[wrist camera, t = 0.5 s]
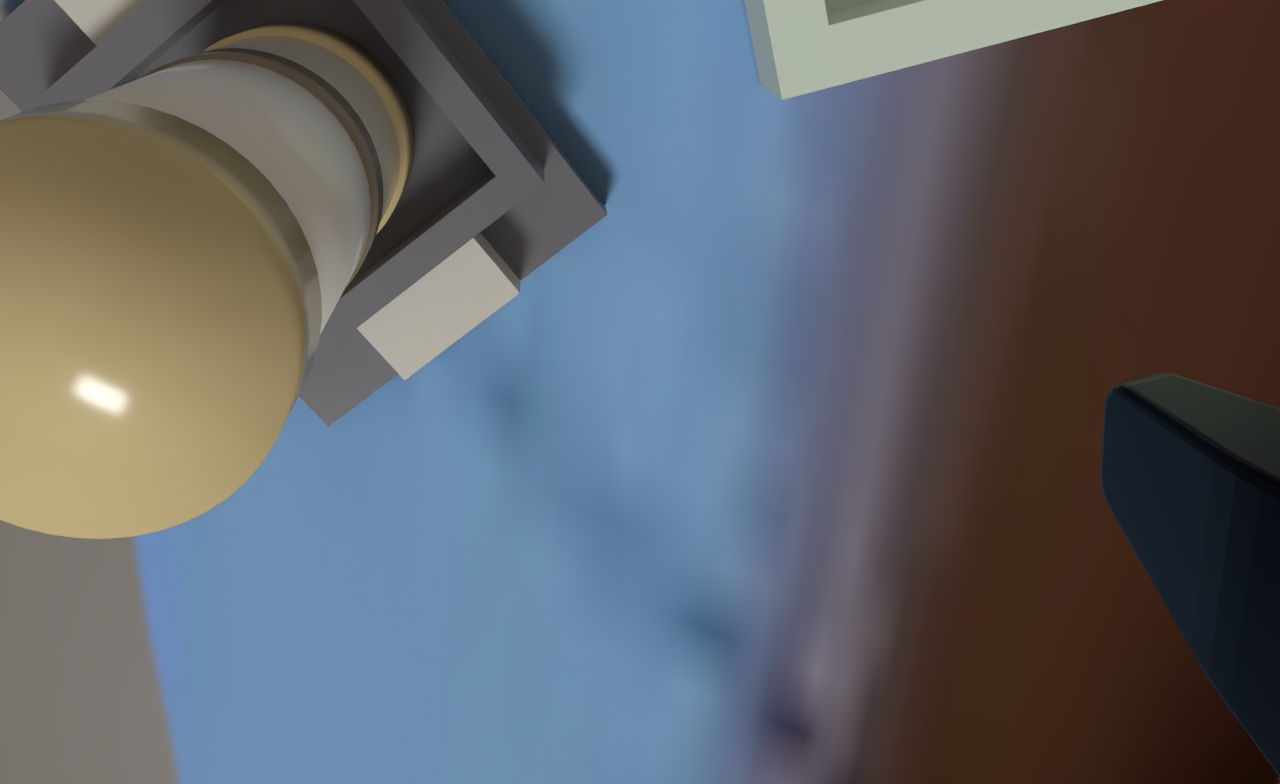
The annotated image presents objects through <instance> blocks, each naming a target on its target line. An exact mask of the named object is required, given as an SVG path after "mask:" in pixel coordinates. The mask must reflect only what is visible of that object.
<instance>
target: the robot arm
mask: <svg viewBox="0 0 1280 784" xmlns="http://www.w3.org/2000/svg"><path fill="white" fill-rule="evenodd" d="M1101 482H1102V488H1103V492H1104V495H1105V498H1106V501H1107V503H1108V505H1109V507H1110V509H1111V511H1112V513H1113V515H1114V516H1115V518H1116V520H1117V522H1118V523H1119V525H1120V527H1121V529H1122V530H1123V532H1124V534H1125V536H1126V537H1127V539H1128V541H1129V543H1130V544H1131V546H1132V548H1133V550H1134V551H1135V553H1136V555H1137V557H1138V558H1139V560H1140V562H1141V564H1142V565H1143V567H1144V569H1145V571H1146V572H1147V574H1148V576H1149V578H1150V579H1151V581H1152V583H1153V585H1154V586H1155V588H1156V590H1157V592H1158V593H1159V595H1160V597H1161V599H1162V600H1163V602H1164V604H1165V606H1166V607H1167V609H1168V611H1169V612H1170V614H1171V616H1172V618H1173V619H1174V621H1175V623H1176V625H1177V626H1178V628H1179V630H1180V632H1181V633H1182V635H1183V637H1184V639H1185V640H1186V642H1187V644H1188V646H1189V647H1190V649H1191V651H1192V652H1193V654H1194V656H1195V657H1196V659H1197V661H1198V662H1199V664H1200V666H1201V667H1202V669H1203V670H1204V672H1205V674H1206V675H1207V677H1208V678H1209V680H1210V681H1211V683H1212V684H1213V686H1214V687H1215V689H1216V690H1217V691H1218V693H1219V694H1220V696H1221V697H1222V699H1223V700H1224V702H1225V703H1226V704H1227V706H1228V707H1229V709H1230V710H1231V711H1232V713H1233V714H1234V716H1235V717H1236V718H1237V720H1238V721H1239V722H1240V724H1241V725H1242V726H1243V728H1244V729H1245V731H1246V732H1247V733H1248V735H1249V736H1250V737H1251V739H1252V740H1253V741H1254V743H1255V744H1256V746H1257V747H1258V748H1259V750H1260V751H1261V752H1262V754H1263V755H1264V757H1265V758H1266V759H1267V761H1268V762H1269V763H1270V765H1271V766H1272V767H1273V769H1274V770H1275V772H1276V773H1277V774H1278V776H1279V777H1280V408H1278V407H1275V406H1272V405H1268V404H1265V403H1262V402H1259V401H1256V400H1253V399H1250V398H1247V397H1243V396H1240V395H1237V394H1234V393H1231V392H1228V391H1225V390H1222V389H1219V388H1215V387H1212V386H1209V385H1206V384H1203V383H1200V382H1197V381H1194V380H1190V379H1187V378H1184V377H1181V376H1178V375H1175V374H1171V373H1159V374H1154V375H1150V376H1146V377H1142V378H1138V379H1134V380H1131V381H1127V382H1123V383H1119V384H1117V385H1115V386H1114V387H1113V388H1112V389H1111V390H1110V391H1109V392H1108V395H1107V397H1106V401H1105V406H1104V424H1103V442H1102V460H1101Z"/></svg>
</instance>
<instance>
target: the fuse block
mask: <svg viewBox="0 0 1280 784" xmlns="http://www.w3.org/2000/svg"><path fill="white" fill-rule="evenodd" d="M276 22H302V23H309V24H314V25H319V26H323V27H326V28H328V29H331V30H334V31H337V32H339V33H341V34H343V35H345V36H347V37H349V38H351V39H352V40H354V41H355V42H357V43H358V44H360V45H362V46H363V47H364V48H366V49H367V50H368V51H369V52H370V53H371V54H373V55H374V56H375V57H376V58H377V59H378V60H379V61H380V62H381V63H382V64H383V66H384V67H385V68H386V69H387V70H388V72H389V73H390V74H391V76H392V77H393V78H394V80H395V81H396V83H397V85H398V87H399V89H400V90H401V92H402V94H403V96H404V99H405V101H406V104H407V106H408V109H409V113H410V116H411V120H412V125H413V133H414V156H413V164H412V169H411V172H410V176H409V179H408V182H407V184H406V186H405V189H404V191H403V193H402V195H401V197H400V199H399V201H398V203H397V205H396V207H395V209H394V211H393V212H392V214H391V216H390V217H389V219H388V221H387V222H386V224H385V225H384V226H383V227H382V229H381V230H380V231H379V232H378V233H377V235H376V237H375V239H374V241H373V243H372V246H371V248H370V250H369V252H368V254H367V256H366V258H365V260H364V261H363V263H362V265H361V267H360V269H359V270H358V272H357V273H356V275H355V277H354V278H353V280H352V281H351V283H350V284H349V285H348V286H347V287H346V289H345V290H344V291H343V293H342V295H341V297H340V299H339V301H338V302H337V304H336V306H335V308H334V310H333V312H332V314H331V315H330V317H329V319H328V321H327V323H326V325H325V327H324V329H323V330H322V332H321V334H320V340H319V345H318V348H317V352H316V356H315V360H314V363H313V366H312V368H311V370H310V373H309V375H308V377H307V380H306V382H305V384H304V386H303V388H302V390H301V392H300V394H299V397H300V398H301V399H302V400H303V401H304V402H305V403H306V404H307V405H308V406H309V407H310V408H311V409H312V410H313V411H314V412H315V413H316V414H317V415H318V416H319V417H320V418H321V419H322V420H323V421H324V422H325V423H326V424H327V425H328V426H330V425H331V424H332V423H334V422H335V421H336V420H338V419H339V418H340V417H342V416H343V415H344V414H346V413H347V412H348V411H349V410H351V409H352V408H353V407H355V406H356V405H357V404H359V403H360V402H361V401H363V400H364V399H365V398H367V397H368V396H369V395H371V394H372V393H373V392H374V391H376V390H377V389H378V388H380V387H381V386H382V385H384V384H385V383H386V382H388V381H389V380H390V379H392V378H393V377H394V376H396V375H397V374H399V375H400V376H401V377H402V378H403V379H404V380H406V379H407V378H408V377H410V376H411V375H412V374H414V373H415V372H416V371H418V370H419V369H420V368H422V367H423V366H424V365H425V364H427V363H428V362H429V361H431V360H432V359H433V358H435V357H436V356H437V355H439V354H440V353H441V352H443V351H444V350H445V349H447V348H448V347H449V346H451V345H452V344H453V343H454V342H456V341H457V340H458V339H460V338H461V337H462V336H464V335H465V334H466V333H468V332H469V331H470V330H472V329H473V328H474V327H476V326H477V325H478V324H480V323H481V322H482V321H483V320H485V319H486V318H487V317H489V316H490V315H491V314H493V313H494V312H495V311H497V310H498V309H499V308H501V307H502V306H503V305H505V304H506V303H507V302H509V301H510V300H511V299H513V298H514V297H515V296H516V295H518V294H519V293H520V280H522V279H523V278H524V277H526V276H527V275H528V274H530V273H531V272H532V271H534V270H535V269H536V268H538V267H539V266H540V265H541V264H543V263H544V262H545V261H547V260H548V259H549V258H551V257H552V256H553V255H555V254H556V253H557V252H559V251H560V250H561V249H563V248H564V247H565V246H566V245H568V244H569V243H570V242H572V241H573V240H574V239H576V238H577V237H578V236H580V235H581V234H582V233H584V232H585V231H586V230H588V229H589V228H590V227H591V226H593V225H594V224H595V223H597V222H598V221H599V220H601V219H602V218H603V217H605V216H606V215H607V211H606V207H605V206H604V205H603V203H602V202H601V201H600V199H599V198H598V197H597V196H596V194H595V193H594V192H593V190H592V189H591V188H590V187H589V185H588V184H587V183H586V181H585V180H584V179H583V178H582V176H581V175H580V174H579V172H578V171H577V170H576V169H575V167H574V166H573V165H572V163H571V162H570V161H569V160H568V158H567V157H566V156H565V155H564V153H563V152H562V151H561V149H560V148H559V147H558V146H557V144H556V143H555V142H554V140H553V139H552V138H551V137H550V135H549V134H548V133H547V131H546V130H545V129H544V128H543V126H542V125H541V124H540V122H539V121H538V120H537V119H536V117H535V116H534V115H533V113H532V112H531V111H530V110H529V108H528V107H527V106H526V104H525V103H524V102H523V101H522V99H521V98H520V97H519V95H518V94H517V93H516V92H515V90H514V89H513V88H512V86H511V85H510V84H509V83H508V81H507V80H506V79H505V77H504V76H503V75H502V74H501V72H500V71H499V70H498V68H497V67H496V66H495V65H494V63H493V62H492V61H491V60H490V58H489V57H488V56H487V54H486V53H485V52H484V51H483V49H482V48H481V47H480V45H479V44H478V43H477V42H476V40H475V39H474V38H473V36H472V35H471V34H470V33H469V31H468V30H467V29H466V27H465V26H464V25H463V24H462V22H461V21H460V20H459V18H458V17H457V16H456V15H455V13H454V12H453V11H452V9H451V8H450V7H449V6H448V4H447V3H446V2H445V0H25V1H24V2H23V3H22V4H20V5H19V6H18V7H17V8H16V9H15V10H14V11H13V12H12V13H10V14H9V15H8V16H7V17H6V18H5V19H4V20H3V21H2V22H0V89H1V90H2V91H3V92H4V93H5V94H6V95H7V96H8V97H9V98H10V99H11V100H12V101H13V102H14V103H15V105H16V106H17V107H18V108H19V109H20V110H21V111H22V112H24V111H27V110H30V109H33V108H36V107H39V106H44V105H49V104H54V103H59V102H64V101H80V100H85V99H88V98H91V97H93V96H96V95H98V94H101V93H103V92H106V91H109V90H111V89H114V88H116V87H119V86H122V85H124V84H127V83H129V82H132V81H134V80H137V79H138V78H140V77H141V76H142V75H144V74H146V73H148V72H150V71H152V70H154V69H155V68H157V67H159V66H162V65H165V64H167V63H170V62H173V61H175V60H178V59H181V58H184V57H186V56H189V55H192V54H195V53H198V52H203V51H204V50H205V49H207V48H208V47H209V46H211V45H213V44H215V43H217V42H219V41H221V40H222V39H224V38H227V37H230V36H233V35H235V34H238V33H241V32H244V31H246V30H249V29H252V28H255V27H258V26H261V25H266V24H271V23H276ZM22 112H21V113H22Z"/></svg>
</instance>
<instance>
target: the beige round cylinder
mask: <svg viewBox="0 0 1280 784" xmlns="http://www.w3.org/2000/svg"><path fill="white" fill-rule="evenodd" d="M413 156H414V133H413V125H412V120H411V116H410V113H409V109H408V106H407V104H406V101H405V99H404V96H403V94H402V92H401V90H400V89H399V87H398V85H397V83H396V81H395V80H394V78H393V77H392V76H391V74H390V73H389V72H388V70H387V69H386V68H385V67H384V66H383V64H382V63H381V62H380V61H379V60H378V59H377V58H376V57H375V56H374V55H373V54H371V53H370V52H369V51H368V50H367V49H366V48H364V47H363V46H362V45H360V44H358V43H357V42H355V41H354V40H352V39H351V38H349V37H347V36H345V35H343V34H341V33H339V32H337V31H334V30H331V29H328V28H326V27H323V26H319V25H314V24H309V23H302V22H276V23H271V24H266V25H261V26H258V27H255V28H252V29H249V30H246V31H244V32H241V33H238V34H235V35H233V36H230V37H227V38H224V39H222V40H221V41H219V42H217V43H215V44H213V45H211V46H209V47H208V48H207V49H205V50H204V51H203V52H198V53H195V54H192V55H189V56H186V57H184V58H181V59H178V60H175V61H173V62H170V63H167V64H165V65H162V66H159V67H157V68H155V69H154V70H152V71H150V72H148V73H146V74H144V75H142V76H141V77H140V78H138V79H137V80H134V81H132V82H129V83H127V84H124V85H122V86H119V87H116V88H114V89H111V90H109V91H106V92H103V93H101V94H98V95H96V96H93V97H91V98H88V99H85V100H80V101H64V102H59V103H54V104H49V105H44V106H39V107H36V108H33V109H30V110H27V111H24V112H22V113H19V114H16V115H13V116H10V117H8V118H5V119H2V120H0V520H2V521H5V522H8V523H11V524H14V525H16V526H19V527H22V528H27V529H30V530H35V531H39V532H43V533H47V534H52V535H59V536H67V537H74V538H97V539H107V538H119V537H132V536H137V535H142V534H147V533H152V532H157V531H161V530H164V529H167V528H170V527H173V526H176V525H179V524H182V523H184V522H186V521H188V520H190V519H193V518H195V517H197V516H199V515H201V514H203V513H205V512H207V511H208V510H210V509H211V508H213V507H215V506H216V505H218V504H219V503H221V502H222V501H224V500H225V499H227V498H228V497H229V496H230V495H231V494H233V493H234V492H235V491H236V490H237V489H238V488H239V487H240V486H242V485H243V484H244V483H245V482H246V481H247V480H248V479H249V478H250V476H251V475H252V474H253V473H254V472H255V470H256V469H257V468H258V467H259V466H260V465H261V463H262V462H263V460H264V459H265V457H266V456H267V454H268V452H269V451H270V449H271V447H272V446H273V444H274V443H275V441H276V439H277V437H278V435H279V433H280V431H281V429H282V427H283V425H284V423H285V421H286V419H287V417H288V415H289V414H290V412H291V410H292V408H293V406H294V404H295V402H296V400H297V398H298V396H299V394H300V392H301V390H302V388H303V386H304V384H305V382H306V380H307V377H308V375H309V373H310V370H311V368H312V366H313V363H314V360H315V356H316V352H317V348H318V345H319V340H320V334H321V332H322V330H323V329H324V327H325V325H326V323H327V321H328V319H329V317H330V315H331V314H332V312H333V310H334V308H335V306H336V304H337V302H338V301H339V299H340V297H341V295H342V293H343V291H344V290H345V289H346V287H347V286H348V285H349V284H350V283H351V281H352V280H353V278H354V277H355V275H356V273H357V272H358V270H359V269H360V267H361V265H362V263H363V261H364V260H365V258H366V256H367V254H368V252H369V250H370V248H371V246H372V243H373V241H374V239H375V237H376V235H377V233H378V232H379V231H380V230H381V229H382V227H383V226H384V225H385V224H386V222H387V221H388V219H389V217H390V216H391V214H392V212H393V211H394V209H395V207H396V205H397V203H398V201H399V199H400V197H401V195H402V193H403V191H404V189H405V186H406V184H407V182H408V179H409V176H410V172H411V169H412V164H413Z"/></svg>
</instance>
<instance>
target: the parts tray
mask: <svg viewBox="0 0 1280 784" xmlns="http://www.w3.org/2000/svg"><path fill="white" fill-rule="evenodd" d="M1158 1H1162V0H744V3H745V8H746V13H747V18H748V24H749V29H750V34H751V39H752V44H753V49H754V54H755V59H756V64H757V69H758V74H759V80H760V84H761V85H763V86H764V87H765V88H767V89H768V90H769V91H771V92H772V93H774V94H775V95H776V96H778V97H779V98H780V99H782V100H784V99H787V98H791V97H795V96H799V95H803V94H806V93H810V92H814V91H818V90H822V89H826V88H829V87H833V86H837V85H841V84H845V83H849V82H852V81H856V80H860V79H864V78H868V77H871V76H875V75H879V74H883V73H887V72H891V71H894V70H898V69H902V68H906V67H910V66H913V65H917V64H921V63H925V62H929V61H933V60H936V59H940V58H944V57H948V56H952V55H955V54H959V53H963V52H967V51H971V50H975V49H978V48H982V47H986V46H990V45H994V44H998V43H1001V42H1005V41H1009V40H1013V39H1017V38H1020V37H1024V36H1028V35H1032V34H1036V33H1040V32H1043V31H1047V30H1051V29H1055V28H1059V27H1062V26H1066V25H1070V24H1074V23H1078V22H1082V21H1085V20H1089V19H1093V18H1097V17H1101V16H1104V15H1108V14H1112V13H1116V12H1120V11H1124V10H1127V9H1131V8H1135V7H1139V6H1143V5H1147V4H1150V3H1154V2H1158Z"/></svg>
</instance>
